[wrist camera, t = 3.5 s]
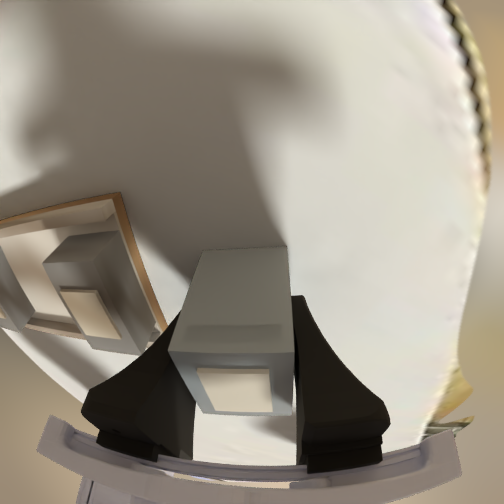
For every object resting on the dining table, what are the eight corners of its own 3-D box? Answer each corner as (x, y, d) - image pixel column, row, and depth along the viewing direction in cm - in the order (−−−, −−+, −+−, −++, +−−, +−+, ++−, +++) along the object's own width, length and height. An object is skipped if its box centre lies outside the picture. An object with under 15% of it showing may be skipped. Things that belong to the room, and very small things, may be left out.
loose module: (288, 320, 15) (291, 419, 10) (220, 321, 16) (202, 416, 11) (286, 245, 13) (294, 357, 8) (203, 250, 13) (165, 355, 8)
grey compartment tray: (168, 326, 16) (151, 374, 13) (28, 312, 18) (9, 341, 15) (120, 192, 12) (76, 230, 9) (-17, 225, 13) (-45, 251, 10)
